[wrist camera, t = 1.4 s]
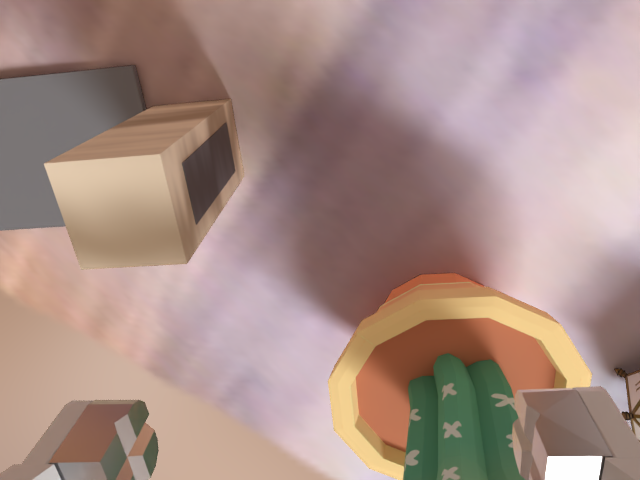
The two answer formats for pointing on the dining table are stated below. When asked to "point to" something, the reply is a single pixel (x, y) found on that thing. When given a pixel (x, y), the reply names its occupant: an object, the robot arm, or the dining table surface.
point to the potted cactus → (446, 379)
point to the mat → (54, 133)
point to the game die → (632, 399)
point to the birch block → (149, 185)
